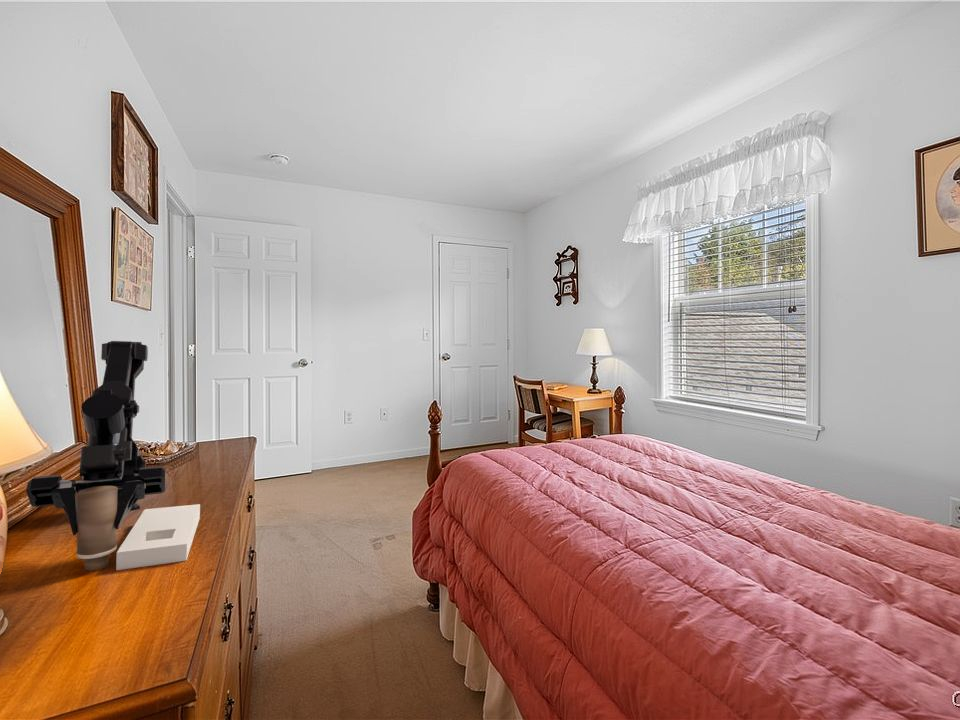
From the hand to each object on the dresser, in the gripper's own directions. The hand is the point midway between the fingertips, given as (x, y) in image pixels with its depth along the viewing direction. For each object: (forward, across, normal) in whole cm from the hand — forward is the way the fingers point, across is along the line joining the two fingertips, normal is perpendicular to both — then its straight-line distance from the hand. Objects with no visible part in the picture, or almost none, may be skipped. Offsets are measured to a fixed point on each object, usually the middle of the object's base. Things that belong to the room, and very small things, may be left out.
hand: (96, 530), depth 78 cm
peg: (+4, 0, +6) cm, 7 cm away
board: (-1, +9, +11) cm, 14 cm away
